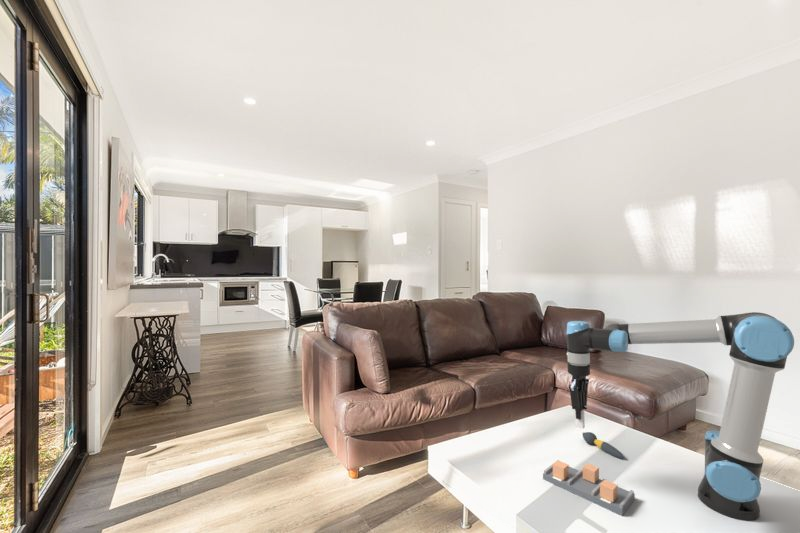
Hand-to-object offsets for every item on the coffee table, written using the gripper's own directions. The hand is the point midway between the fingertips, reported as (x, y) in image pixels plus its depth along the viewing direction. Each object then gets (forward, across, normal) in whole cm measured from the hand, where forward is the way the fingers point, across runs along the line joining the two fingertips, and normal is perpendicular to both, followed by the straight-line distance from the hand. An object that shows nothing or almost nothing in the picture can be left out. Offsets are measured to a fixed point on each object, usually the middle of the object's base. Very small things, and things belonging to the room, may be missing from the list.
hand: (580, 426), depth 136 cm
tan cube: (+16, +8, -4) cm, 19 cm away
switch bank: (+19, +6, +4) cm, 20 cm away
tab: (+17, +9, +12) cm, 22 cm away
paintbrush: (+19, -28, -2) cm, 34 cm away
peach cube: (+16, +2, +4) cm, 17 cm away
